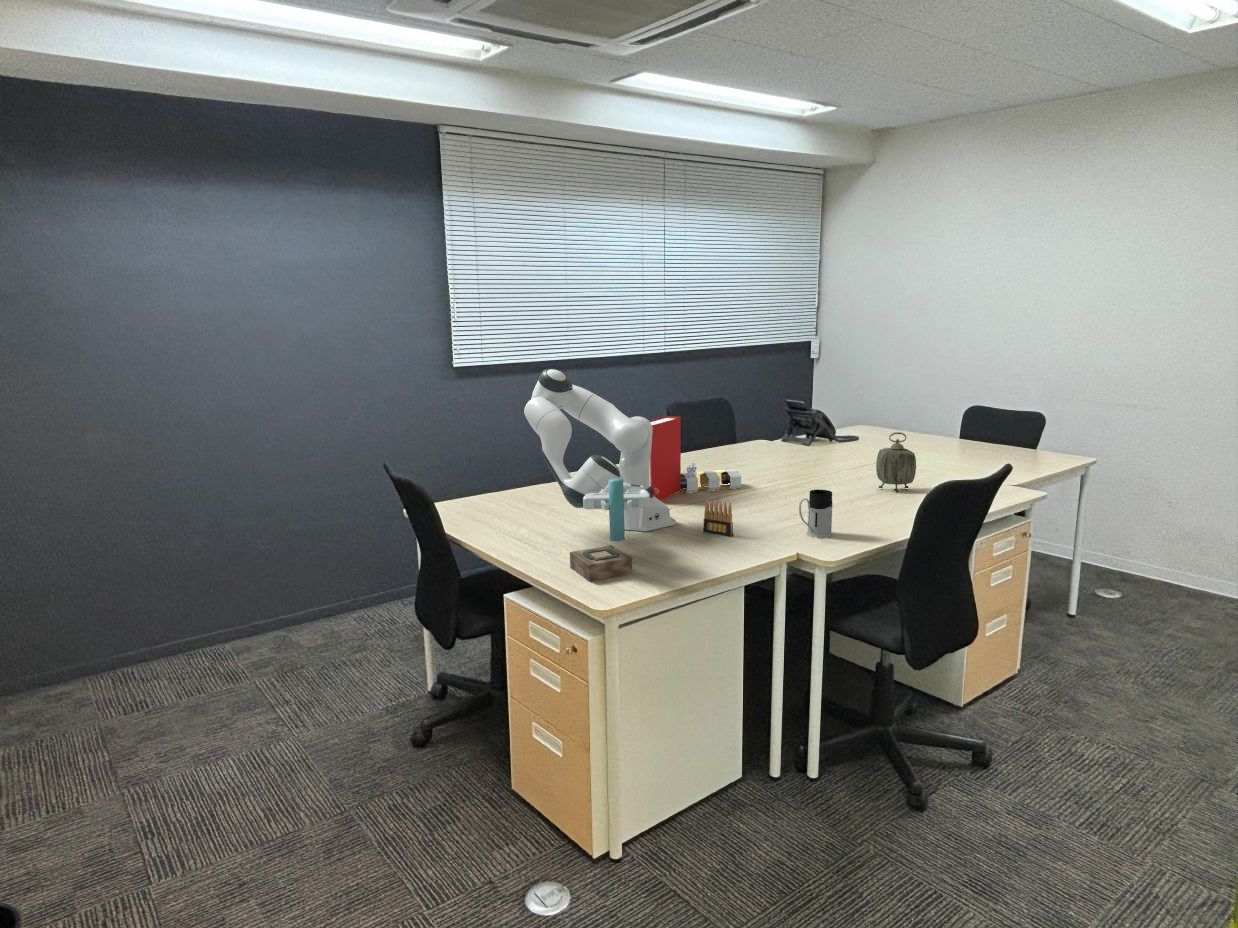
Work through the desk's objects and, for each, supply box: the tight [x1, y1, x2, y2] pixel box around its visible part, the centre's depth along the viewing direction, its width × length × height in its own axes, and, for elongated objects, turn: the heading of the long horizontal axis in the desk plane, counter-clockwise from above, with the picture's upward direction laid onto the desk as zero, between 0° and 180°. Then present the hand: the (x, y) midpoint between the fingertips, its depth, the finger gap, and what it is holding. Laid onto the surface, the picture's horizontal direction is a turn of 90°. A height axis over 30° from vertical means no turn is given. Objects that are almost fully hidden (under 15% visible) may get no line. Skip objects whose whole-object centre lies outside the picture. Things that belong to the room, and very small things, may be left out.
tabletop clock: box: [875, 431, 917, 492], centre depth 322 cm, size 14×9×25 cm, turn 84°
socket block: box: [569, 545, 633, 582], centre depth 230 cm, size 14×14×5 cm
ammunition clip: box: [702, 498, 734, 538], centre depth 266 cm, size 11×2×12 cm, turn 56°
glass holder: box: [798, 489, 833, 539], centre depth 261 cm, size 9×14×15 cm, turn 122°
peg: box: [608, 479, 626, 543], centre depth 226 cm, size 4×4×18 cm
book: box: [648, 415, 682, 501], centre depth 320 cm, size 27×8×32 cm, turn 149°
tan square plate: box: [589, 551, 611, 558], centre depth 230 cm, size 5×5×1 cm
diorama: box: [681, 462, 742, 494], centre depth 333 cm, size 25×10×13 cm, turn 106°
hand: (616, 507), depth 225 cm, fingers closed on peg, 4 cm apart
